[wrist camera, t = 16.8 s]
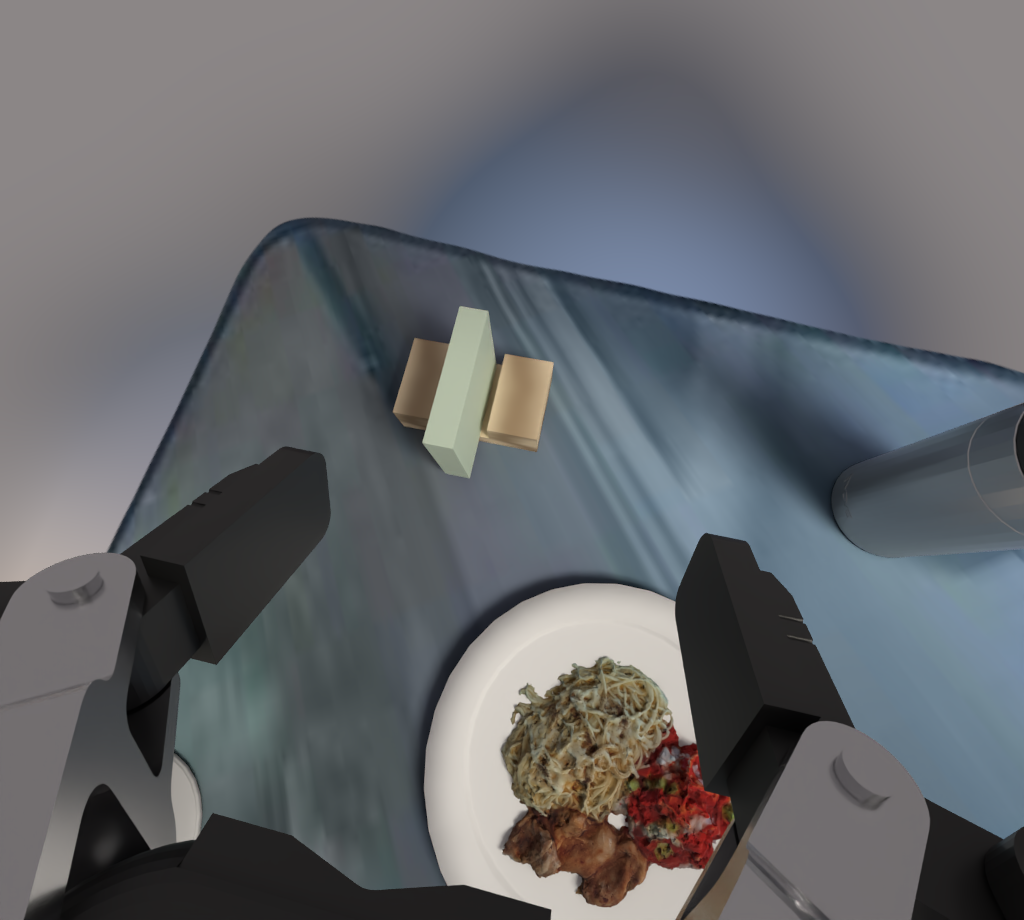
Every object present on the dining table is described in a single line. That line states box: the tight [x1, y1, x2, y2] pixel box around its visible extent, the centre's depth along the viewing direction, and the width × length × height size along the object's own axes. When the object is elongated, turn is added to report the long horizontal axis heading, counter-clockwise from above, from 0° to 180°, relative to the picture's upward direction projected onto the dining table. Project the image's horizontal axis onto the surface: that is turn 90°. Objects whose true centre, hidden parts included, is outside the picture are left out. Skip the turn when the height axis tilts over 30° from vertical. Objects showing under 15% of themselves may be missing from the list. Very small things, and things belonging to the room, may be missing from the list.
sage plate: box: [422, 306, 497, 478], centre depth 41 cm, size 2×12×10 cm, turn 168°
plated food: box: [424, 583, 734, 920], centre depth 37 cm, size 30×30×3 cm
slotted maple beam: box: [393, 338, 554, 452], centre depth 46 cm, size 14×8×4 cm, turn 78°
